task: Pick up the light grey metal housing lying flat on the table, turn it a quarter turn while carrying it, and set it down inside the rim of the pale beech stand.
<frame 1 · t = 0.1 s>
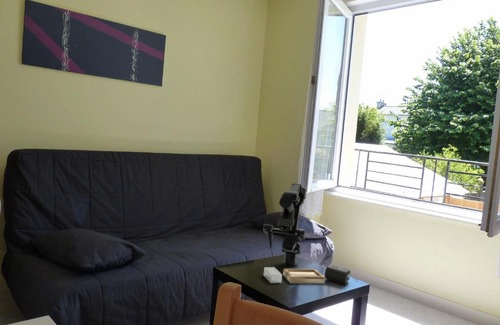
hand: (280, 249, 171), 15 cm above the table, tool tilted 30°, fingers open, 9 cm apart
end cap: (336, 282, 180), on the table
beech stand: (303, 279, 181), on the table
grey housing: (272, 279, 177), on the table
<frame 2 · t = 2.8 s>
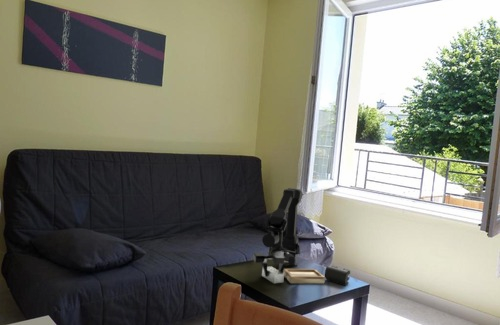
hand: (272, 276, 177), 1 cm above the table, tool pointing down, fingers closed on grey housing, 6 cm apart
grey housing: (272, 279, 177), on the table, touching gripper
everything else where it was.
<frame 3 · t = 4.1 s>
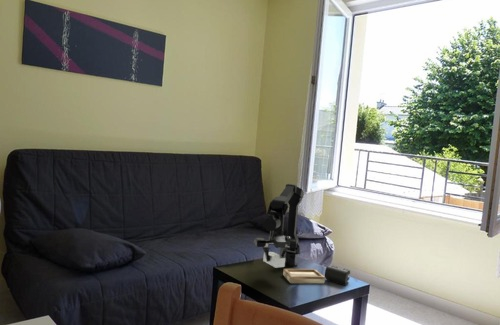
hand: (273, 261, 177), 8 cm above the table, tool pointing down, fingers closed on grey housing, 6 cm apart
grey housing: (273, 263, 177), point 7 cm above the table, touching gripper
everything else where it was.
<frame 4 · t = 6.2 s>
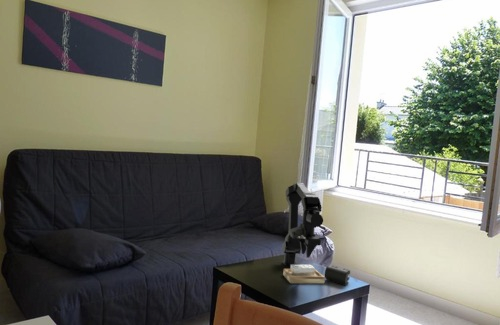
hand: (305, 255, 180), 11 cm above the table, tool pointing down, fingers open, 5 cm apart
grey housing: (302, 274, 180), point 2 cm above the table, touching beech stand
everything else where it was.
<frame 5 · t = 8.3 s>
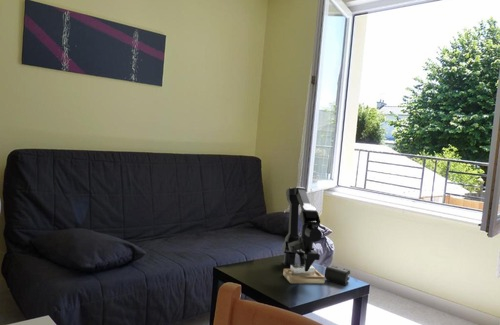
hand: (304, 269, 180), 5 cm above the table, tool pointing down, fingers closed on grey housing, 5 cm apart
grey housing: (301, 274, 180), point 2 cm above the table, touching beech stand, gripper
everything else where it was.
when the fingers open (5 cm above the table, at t = 8.3 s): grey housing stays where it is, resting on beech stand.
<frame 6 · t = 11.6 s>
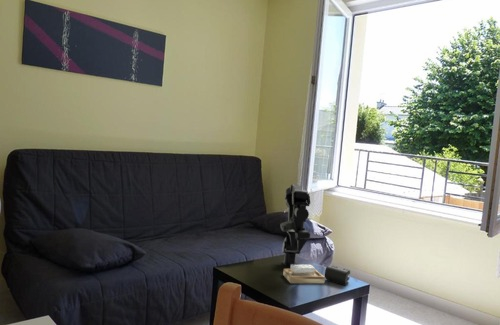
hand: (295, 248, 187), 12 cm above the table, tool pointing down, fingers open, 9 cm apart
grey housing: (301, 274, 180), point 2 cm above the table, touching beech stand
everything else where it was.
at the end: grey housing 0.9 cm off-centre on the beech stand, point 2.0 cm above the beech stand's base; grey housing tilted 0°; the gripper is holding nothing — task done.
